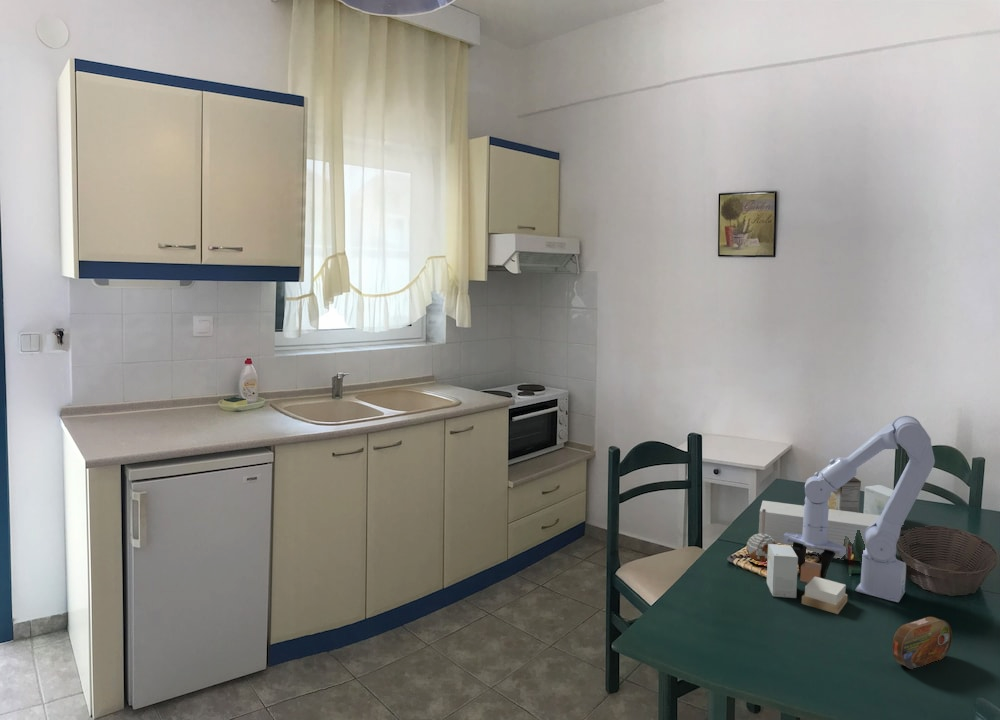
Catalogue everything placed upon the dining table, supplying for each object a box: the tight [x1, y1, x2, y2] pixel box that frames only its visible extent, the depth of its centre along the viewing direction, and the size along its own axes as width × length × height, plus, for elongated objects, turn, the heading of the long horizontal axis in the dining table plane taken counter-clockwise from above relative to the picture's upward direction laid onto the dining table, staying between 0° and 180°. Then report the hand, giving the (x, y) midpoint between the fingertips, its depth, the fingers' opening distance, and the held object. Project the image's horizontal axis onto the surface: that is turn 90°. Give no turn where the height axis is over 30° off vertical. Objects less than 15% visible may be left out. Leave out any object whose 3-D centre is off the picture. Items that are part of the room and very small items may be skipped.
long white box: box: [758, 500, 880, 560], centre depth 195 cm, size 32×11×11 cm, turn 65°
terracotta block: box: [799, 559, 821, 584], centre depth 174 cm, size 4×4×4 cm
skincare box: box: [863, 484, 905, 526], centre depth 217 cm, size 10×6×10 cm, turn 14°
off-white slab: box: [804, 577, 847, 605], centre depth 162 cm, size 7×7×2 cm
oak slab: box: [801, 593, 848, 615], centre depth 163 cm, size 8×8×2 cm
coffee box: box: [828, 476, 862, 513], centre depth 212 cm, size 9×6×16 cm
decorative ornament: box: [746, 509, 776, 562], centre depth 185 cm, size 8×8×15 cm
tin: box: [891, 616, 953, 670], centre depth 137 cm, size 15×3×8 cm, turn 114°
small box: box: [766, 544, 799, 599], centre depth 168 cm, size 8×6×10 cm
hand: (812, 575), depth 175 cm, fingers closed on terracotta block, 4 cm apart
